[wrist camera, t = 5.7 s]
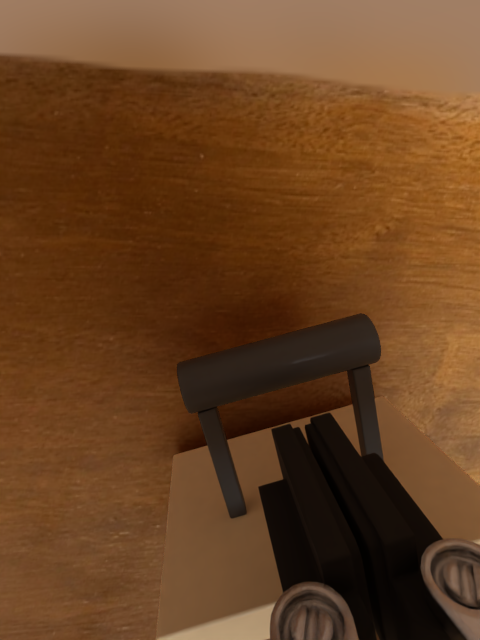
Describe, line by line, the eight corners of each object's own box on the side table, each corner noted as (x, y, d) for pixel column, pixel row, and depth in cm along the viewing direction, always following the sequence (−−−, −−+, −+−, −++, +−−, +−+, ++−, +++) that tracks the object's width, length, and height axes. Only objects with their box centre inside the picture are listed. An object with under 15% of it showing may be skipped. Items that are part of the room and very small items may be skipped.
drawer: (132, 338, 15) (70, 453, 8) (366, 276, 15) (523, 326, 8) (236, 638, 20) (260, 881, 13) (410, 584, 21) (529, 788, 13)
